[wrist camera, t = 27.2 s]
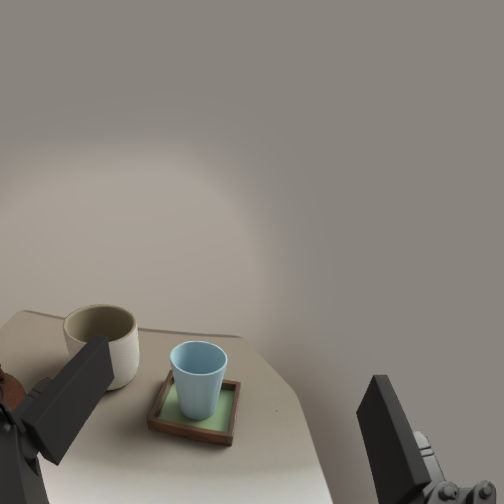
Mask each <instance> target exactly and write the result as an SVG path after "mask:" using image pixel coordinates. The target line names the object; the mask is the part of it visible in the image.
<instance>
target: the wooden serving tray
mask: <svg viewBox="0 0 504 504" xmlns="http://www.w3.org/2000/svg"><path fill="white" fill-rule="evenodd" d="M240 388H241V382H236V381H229V380H222V384H221V388H220V392H219V397H218V401H217V405H216V409H215V412H214V414H213V415H212V416H211V417H209V418H207V419H203V420H195V419H191V418H188V417H186V416H185V415H184V414H183V413H182V412H181V410H180V406H179V401H178V397H177V392H176V387H175V382H174V377H173V371H172V370H170V372H169V374H168V376H167V378H166V380H165V382H164V384H163V386H162V388H161V391H160V393H159V395H158V397H157V399H156V401H155V403H154V405H153V408H152V410H151V412H150V414H149V416H148V418H147V421H148V426H149V429H152V430H156V431H160V432H164V433H168V434H172V435H176V436H180V437H185V438H190V439H195V440H200V441H205V442H211V443H216V444H223V445H229V446H232V440H233V434H234V427H235V421H236V414H237V408H238V401H239V395H240Z"/></svg>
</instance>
